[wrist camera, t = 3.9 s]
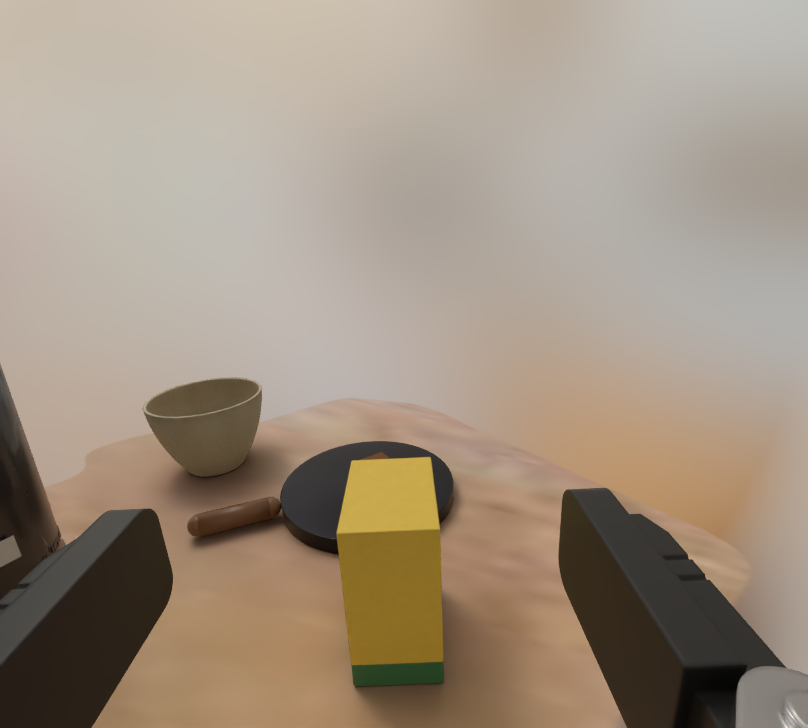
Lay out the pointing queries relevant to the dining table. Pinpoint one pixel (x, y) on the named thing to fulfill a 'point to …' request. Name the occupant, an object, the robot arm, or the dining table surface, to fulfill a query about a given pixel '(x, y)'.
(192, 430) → the beige bowl
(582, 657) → the dining table surface
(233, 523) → the pan
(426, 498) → the sponge
